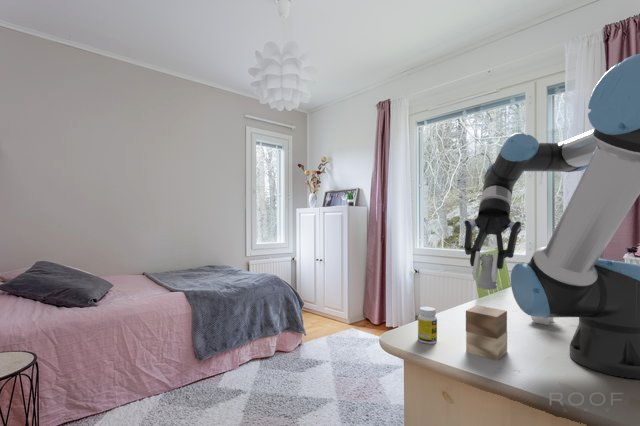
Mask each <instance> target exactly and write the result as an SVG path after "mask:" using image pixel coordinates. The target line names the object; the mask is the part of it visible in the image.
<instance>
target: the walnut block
mask: <svg viewBox="0 0 640 426" xmlns="http://www.w3.org/2000/svg"><path fill="white" fill-rule="evenodd" d="M465 332H470V333H474V334H478V335H482V336H486V337H490V338H494V339H498V338H499V337H500V336H502V335H503V334H504V333H506V332H507V333H508V310H505V309H500V308H499V309H498V308H494V307H487V306H483V305H478V304H477V305H475V306H473V307H470V308H468V309H467V310H465Z"/></svg>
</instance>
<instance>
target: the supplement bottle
mask: <svg viewBox="0 0 640 426" xmlns="http://www.w3.org/2000/svg"><path fill="white" fill-rule="evenodd" d="M436 312H437V311H436V307H435V308H434V307H431V306H421V307H419V315H418V317H417V321H418V322H417V340H418V342H420V343H422V344H429V345H432V344H436V343H437V341H438V317H437V316H436V314H437V313H436Z"/></svg>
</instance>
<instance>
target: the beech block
mask: <svg viewBox="0 0 640 426" xmlns="http://www.w3.org/2000/svg"><path fill="white" fill-rule="evenodd" d="M465 332H466V331H465ZM465 335H466V336H465V342H466V343H465V347H466V348H465V351H466V352H467V353H470V354H473V355H476V356H479V357H483V358H487V359H490V360H494V361H499V360H500V359H501V358H502V357H503V356H505V354H507V353H508V331H507V332H506V333H504V334H503V335H502V336H500V337H499V338H498V339H494V338H490V337H486V336H482V335H478V334H474V333H470V332H466V333H465Z"/></svg>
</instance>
